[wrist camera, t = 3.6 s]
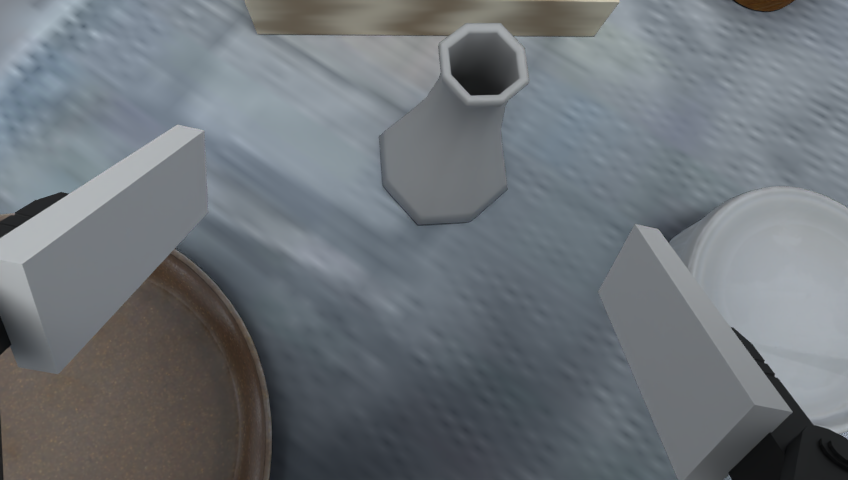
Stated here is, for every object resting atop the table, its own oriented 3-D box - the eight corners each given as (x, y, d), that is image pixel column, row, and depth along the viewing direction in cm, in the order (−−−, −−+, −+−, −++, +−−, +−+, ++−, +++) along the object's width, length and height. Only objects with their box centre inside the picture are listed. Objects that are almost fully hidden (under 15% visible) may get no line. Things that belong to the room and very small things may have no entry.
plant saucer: (-309, 453, 20) (-443, 477, 16) (100, 146, 24) (57, 118, 21) (0, 832, 18) (-79, 939, 15) (374, 435, 23) (374, 452, 19)
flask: (357, 129, 25) (347, 3, 16) (474, 88, 27) (531, -52, 17) (408, 247, 24) (430, 191, 15) (527, 199, 26) (620, 118, 16)
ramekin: (680, 450, 24) (763, 482, 19) (590, 253, 26) (644, 233, 20) (845, 367, 26) (962, 376, 21) (752, 188, 27) (839, 155, 22)
